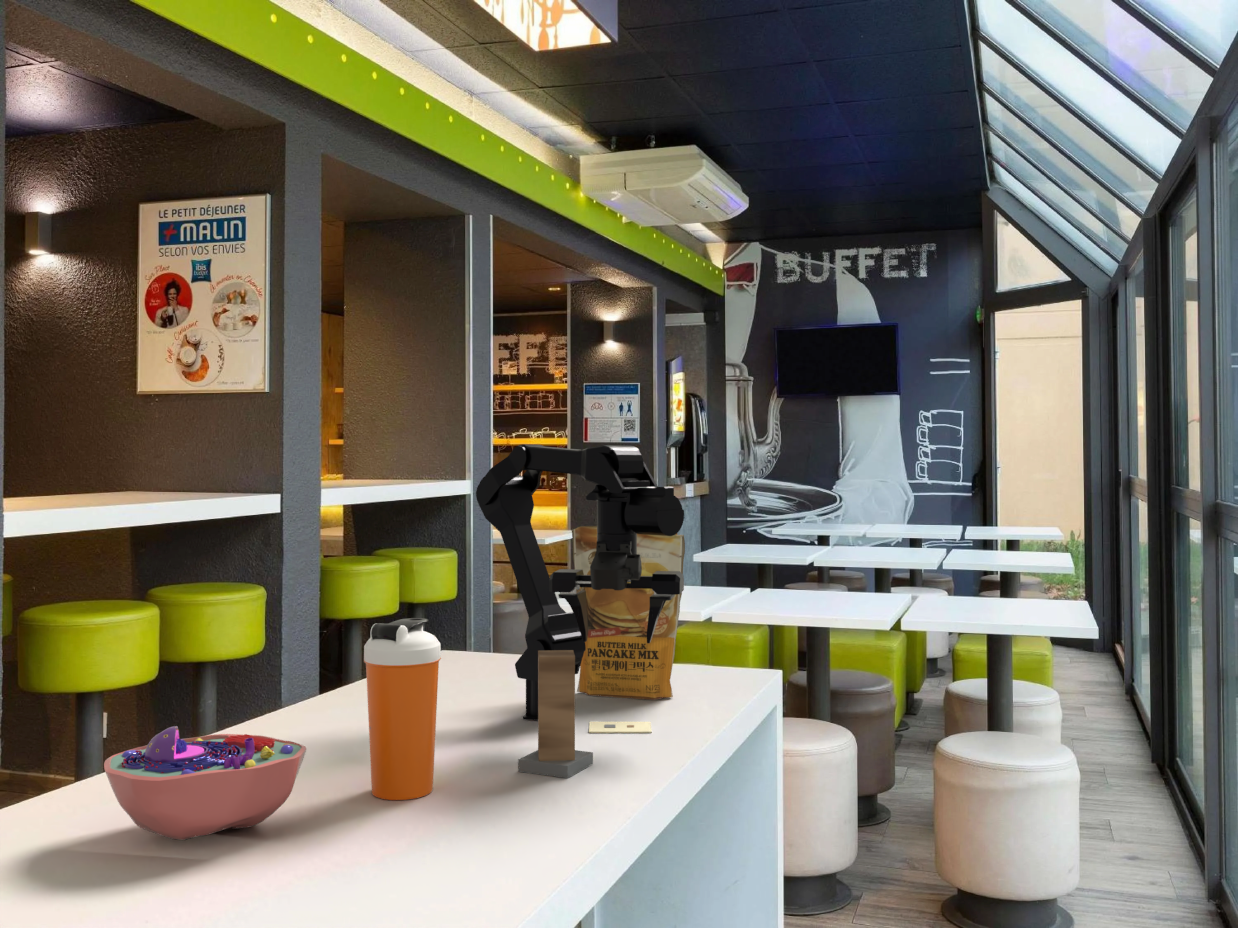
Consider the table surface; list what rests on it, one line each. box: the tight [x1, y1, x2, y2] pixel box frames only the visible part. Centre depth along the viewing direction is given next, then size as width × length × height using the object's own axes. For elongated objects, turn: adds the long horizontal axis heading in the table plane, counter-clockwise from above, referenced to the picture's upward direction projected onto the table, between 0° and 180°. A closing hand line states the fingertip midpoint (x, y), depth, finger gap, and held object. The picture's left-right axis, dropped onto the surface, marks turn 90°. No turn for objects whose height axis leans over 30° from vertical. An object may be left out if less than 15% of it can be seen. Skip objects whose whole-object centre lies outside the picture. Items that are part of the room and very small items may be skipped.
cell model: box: [103, 725, 307, 841], centre depth 116 cm, size 17×20×11 cm
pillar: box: [537, 650, 576, 761], centre depth 140 cm, size 4×4×13 cm
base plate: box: [517, 749, 594, 779], centre depth 140 cm, size 7×7×2 cm
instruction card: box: [588, 721, 652, 734], centre depth 161 cm, size 9×6×1 cm, turn 90°
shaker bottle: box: [363, 617, 442, 801], centre depth 130 cm, size 9×9×20 cm
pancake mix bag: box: [571, 525, 686, 701], centre depth 184 cm, size 7×19×28 cm, turn 74°
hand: (616, 642), depth 158 cm, fingers open, 9 cm apart
